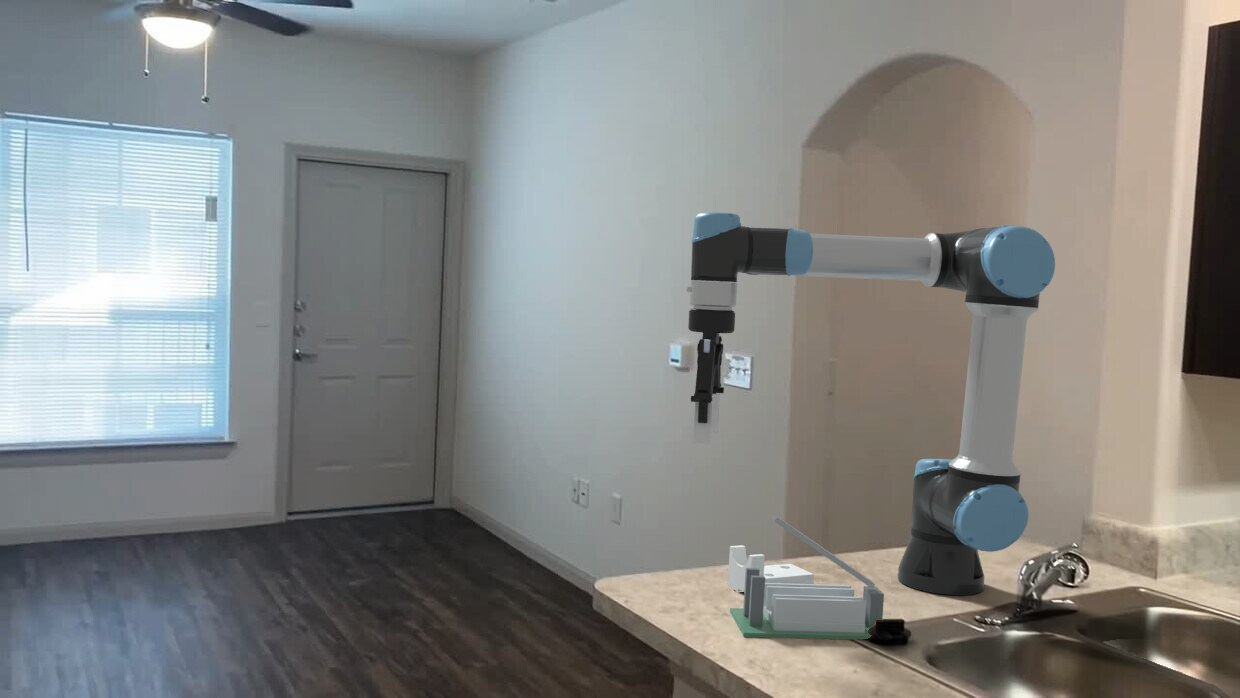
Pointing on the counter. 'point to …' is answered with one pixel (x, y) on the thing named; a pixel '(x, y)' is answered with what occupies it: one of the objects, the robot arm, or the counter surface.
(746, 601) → the heatsink board
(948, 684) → the counter surface
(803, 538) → the strap
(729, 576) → the bracket
